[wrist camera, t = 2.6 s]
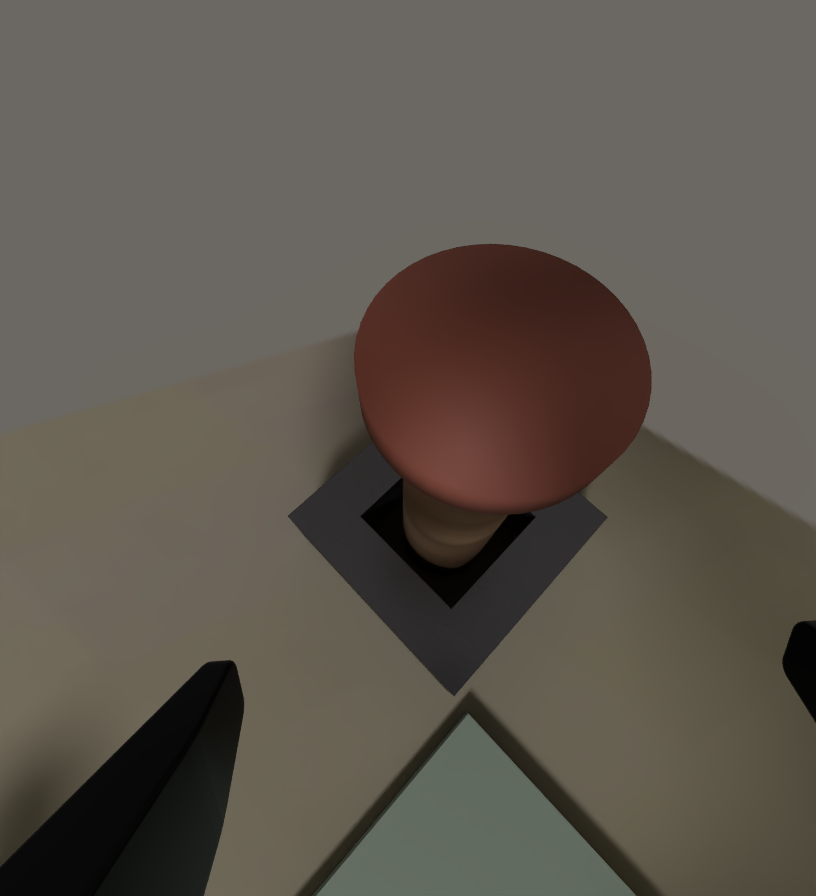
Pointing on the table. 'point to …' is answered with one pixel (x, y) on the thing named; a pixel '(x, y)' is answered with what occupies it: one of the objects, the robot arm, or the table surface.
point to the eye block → (407, 596)
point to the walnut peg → (495, 390)
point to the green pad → (471, 834)
